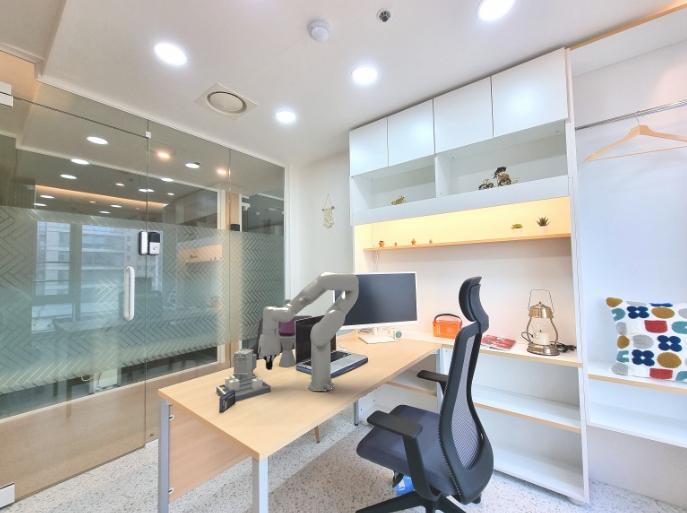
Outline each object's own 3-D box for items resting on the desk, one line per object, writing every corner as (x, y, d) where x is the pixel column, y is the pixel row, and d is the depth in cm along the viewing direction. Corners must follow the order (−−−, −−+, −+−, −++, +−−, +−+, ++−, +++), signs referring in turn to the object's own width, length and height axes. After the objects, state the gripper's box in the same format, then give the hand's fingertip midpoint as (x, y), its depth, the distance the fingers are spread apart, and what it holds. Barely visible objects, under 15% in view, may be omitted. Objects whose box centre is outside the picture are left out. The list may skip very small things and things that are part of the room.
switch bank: (270, 391, 137) (270, 385, 138) (227, 404, 125) (227, 397, 125) (256, 381, 151) (256, 375, 151) (216, 391, 138) (216, 385, 138)
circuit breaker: (257, 373, 162) (257, 346, 163) (246, 383, 148) (246, 353, 149) (244, 373, 163) (245, 346, 164) (232, 382, 149) (233, 353, 150)
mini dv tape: (222, 412, 117) (222, 397, 118) (219, 412, 118) (219, 397, 118) (235, 403, 125) (235, 389, 125) (232, 403, 126) (232, 389, 126)
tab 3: (262, 387, 136) (262, 377, 137) (254, 390, 134) (254, 380, 134) (259, 385, 139) (259, 376, 139) (251, 388, 136) (251, 378, 136)
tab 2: (239, 389, 135) (239, 379, 135) (230, 391, 132) (230, 381, 133) (237, 387, 137) (237, 377, 138) (228, 389, 135) (228, 379, 135)
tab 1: (235, 385, 139) (235, 376, 139) (226, 387, 137) (227, 378, 137) (233, 383, 142) (233, 374, 142) (224, 386, 139) (225, 376, 139)
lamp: (281, 361, 183) (281, 298, 185) (298, 361, 182) (298, 298, 184) (276, 367, 172) (276, 300, 174) (293, 367, 171) (293, 300, 173)
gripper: (280, 328, 150) (279, 364, 149) (252, 331, 140) (251, 370, 139) (287, 331, 144) (286, 368, 143) (259, 334, 134) (257, 374, 133)
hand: (269, 369), depth 141 cm, fingers closed
